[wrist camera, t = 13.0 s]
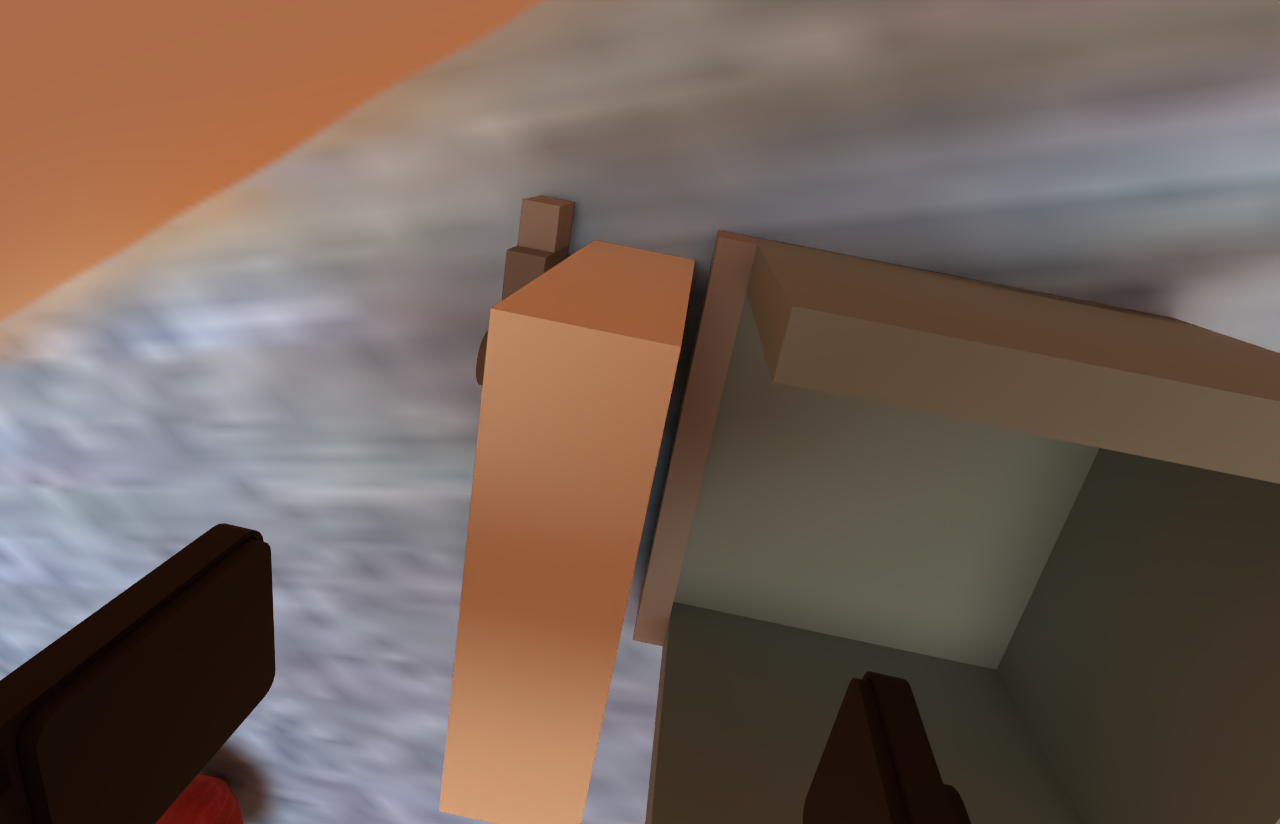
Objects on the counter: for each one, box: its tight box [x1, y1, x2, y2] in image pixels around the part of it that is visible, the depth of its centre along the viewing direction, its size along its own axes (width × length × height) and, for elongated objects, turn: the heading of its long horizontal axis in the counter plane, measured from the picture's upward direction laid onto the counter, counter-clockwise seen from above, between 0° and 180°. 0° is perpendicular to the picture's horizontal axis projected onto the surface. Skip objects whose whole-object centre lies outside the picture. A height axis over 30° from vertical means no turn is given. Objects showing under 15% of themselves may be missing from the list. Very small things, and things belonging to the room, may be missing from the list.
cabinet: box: [502, 196, 1280, 824], centre depth 17 cm, size 18×13×10 cm
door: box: [439, 240, 695, 824], centre depth 17 cm, size 4×11×10 cm, turn 170°
